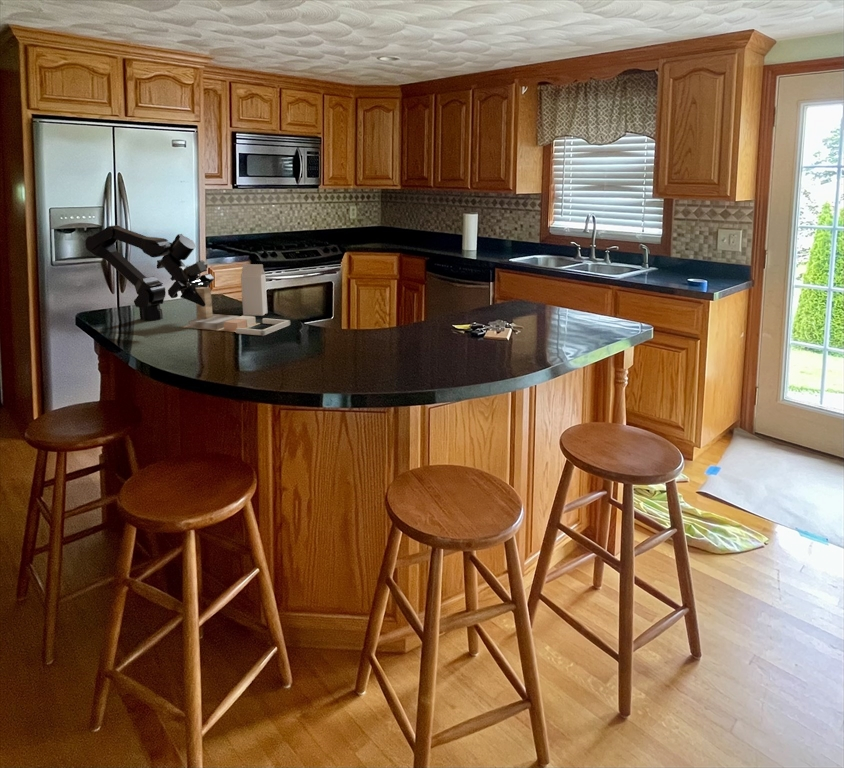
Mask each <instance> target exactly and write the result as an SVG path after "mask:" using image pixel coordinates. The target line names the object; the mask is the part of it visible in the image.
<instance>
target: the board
mask: <svg viewBox="0 0 844 768" xmlns="http://www.w3.org/2000/svg"><path fill="white" fill-rule="evenodd" d="M260 324H261V323H260V322H256V324H254V325H252V326H249V327H246V329H251V328H252V327H255V326H257V325H260ZM183 328H188V329H194V328H193V327H189V324H188V325H187V324H186V325H185V326H183ZM197 329H200V330H205V329H204V328H197ZM208 330H209V331H216V330H215V329H208ZM217 331H219V332H220V331H221V332H223V331H224V332H231V333H232V332H233V333H234V332H235V333H236V331H235V330H224V328H221V329H218V330H217Z"/></svg>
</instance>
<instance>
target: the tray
mask: <svg viewBox="0 0 844 768" xmlns="http://www.w3.org/2000/svg"><path fill="white" fill-rule="evenodd" d="M262 324H267V325H272V326H268V327H267V328H263V329H256V328H247V329H246V328H236V332H235V333H236V334H242V335H253V336H266V335H269V334H271V333H274V332H277V331H278V330H281V329H284V328H286V327H289V326H291V320H290V319H276V318H267V317H263V318H262Z"/></svg>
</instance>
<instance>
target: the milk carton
mask: <svg viewBox="0 0 844 768" xmlns="http://www.w3.org/2000/svg"><path fill="white" fill-rule="evenodd" d="M241 266H242V269H241V274H240V287H241V288H240V289H241V302H242V316H258V317H259V316H265V314H268V298H267V282H266V281H267V280H266V278H267V277H266V272H265V270H264V265H263V264H262V263H261V264H260V263H259V264H258V263H257V264H256V263H255V264H254V263H253V264H250V263H248V264H247V263H245V264H244V263H243V264H242V265H241Z"/></svg>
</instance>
